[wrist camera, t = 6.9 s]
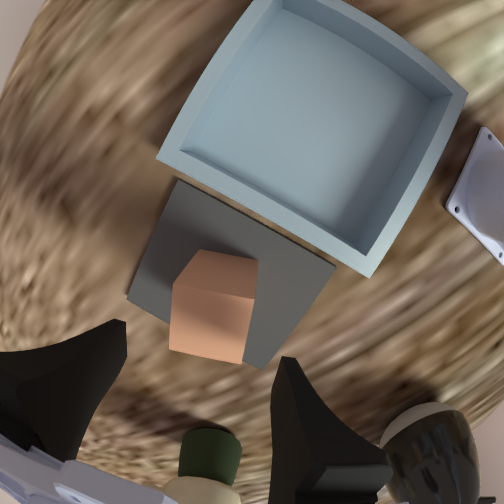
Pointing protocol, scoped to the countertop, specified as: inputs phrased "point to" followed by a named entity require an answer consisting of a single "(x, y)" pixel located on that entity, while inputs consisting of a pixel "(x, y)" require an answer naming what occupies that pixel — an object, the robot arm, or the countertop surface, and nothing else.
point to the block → (213, 306)
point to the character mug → (205, 469)
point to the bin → (318, 125)
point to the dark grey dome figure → (433, 457)
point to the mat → (237, 244)
